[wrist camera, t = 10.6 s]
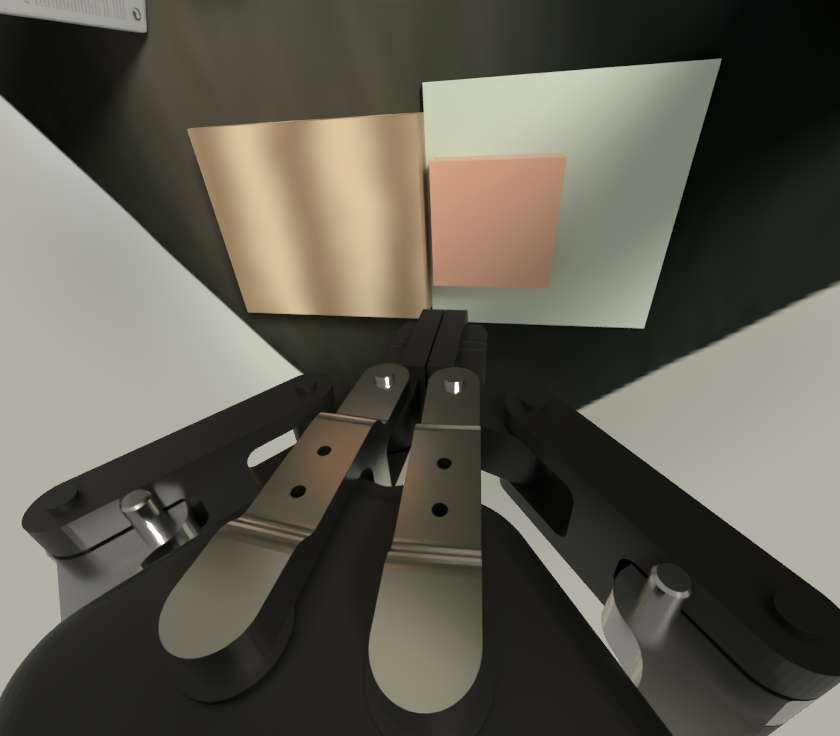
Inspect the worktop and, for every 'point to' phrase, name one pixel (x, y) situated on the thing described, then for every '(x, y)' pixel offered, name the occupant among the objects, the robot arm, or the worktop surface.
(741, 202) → the worktop surface
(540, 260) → the terracotta coaster
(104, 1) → the skincare box
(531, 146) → the sage mat
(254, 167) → the oak board
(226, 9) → the worktop surface
